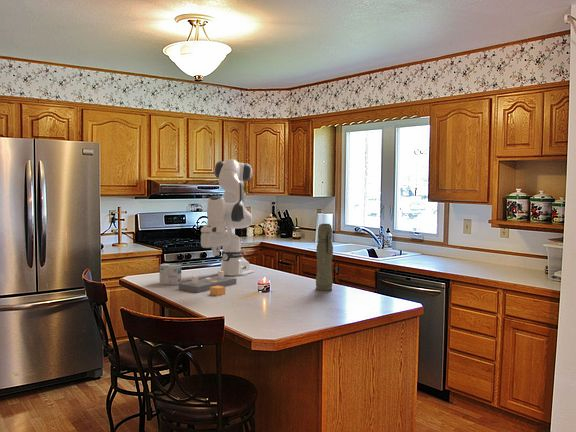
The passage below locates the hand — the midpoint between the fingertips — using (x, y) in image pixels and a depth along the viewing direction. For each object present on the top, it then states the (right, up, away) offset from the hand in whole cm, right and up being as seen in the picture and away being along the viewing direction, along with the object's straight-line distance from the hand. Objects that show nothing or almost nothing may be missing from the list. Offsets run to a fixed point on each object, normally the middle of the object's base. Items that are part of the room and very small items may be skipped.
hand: (216, 255), depth 265 cm
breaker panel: (-7, -18, +18) cm, 27 cm away
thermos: (+56, -19, +15) cm, 61 cm away
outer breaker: (-12, -16, +10) cm, 22 cm away
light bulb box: (-29, -18, +25) cm, 42 cm away
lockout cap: (+1, -19, 0) cm, 19 cm away
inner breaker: (-1, -15, +26) cm, 30 cm away
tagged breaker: (-7, -18, +18) cm, 27 cm away
